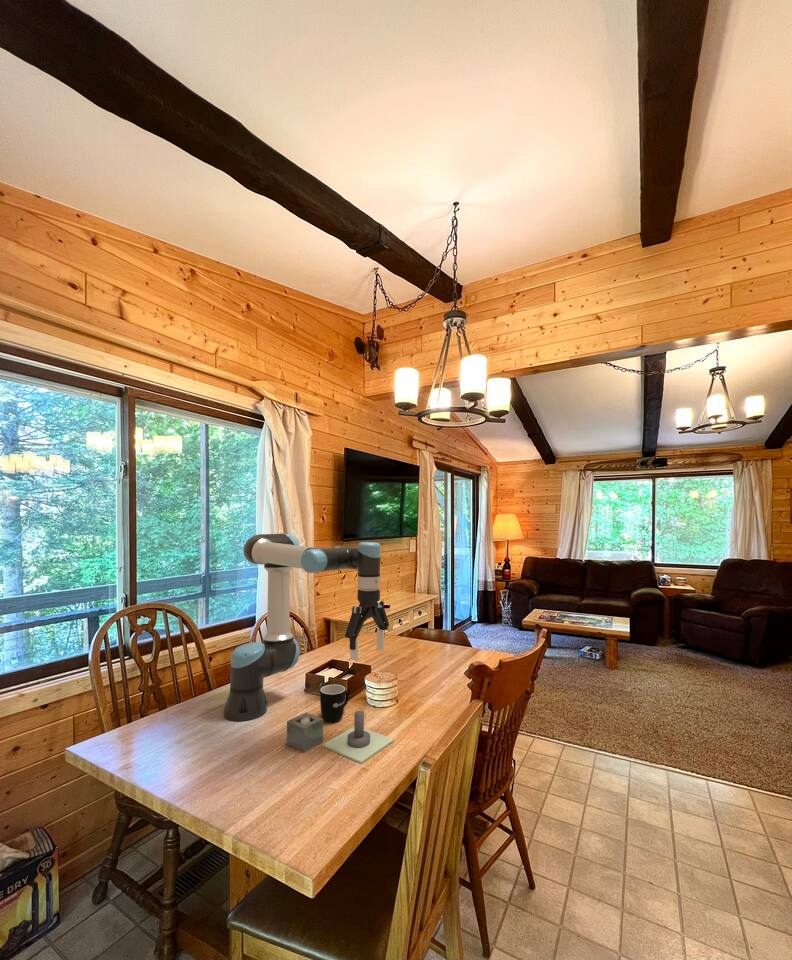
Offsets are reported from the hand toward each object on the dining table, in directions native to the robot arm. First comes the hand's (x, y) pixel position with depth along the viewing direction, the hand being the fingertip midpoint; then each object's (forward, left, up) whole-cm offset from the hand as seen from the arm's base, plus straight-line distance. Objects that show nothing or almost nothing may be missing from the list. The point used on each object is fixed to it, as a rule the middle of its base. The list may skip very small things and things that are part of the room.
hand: (367, 654), depth 143 cm
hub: (0, -4, -27) cm, 27 cm away
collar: (-14, -14, -27) cm, 33 cm away
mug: (-19, +5, -27) cm, 33 cm away
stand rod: (-14, -14, -27) cm, 33 cm away
